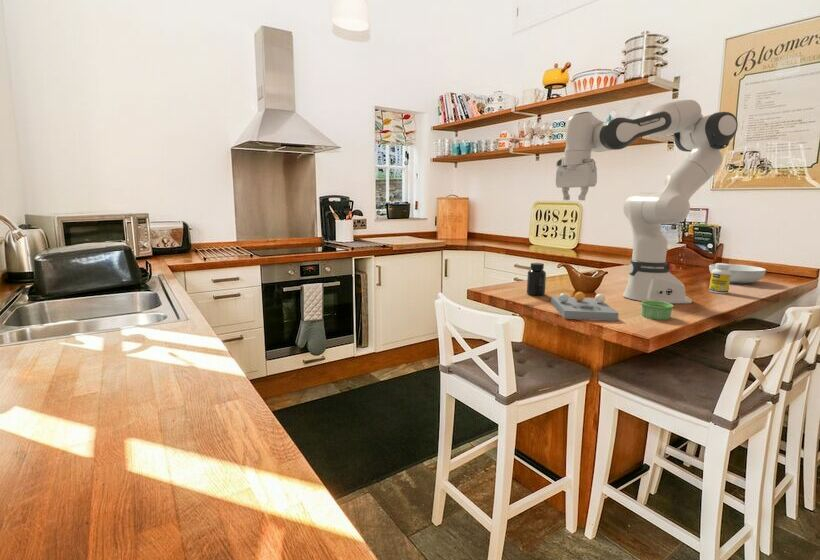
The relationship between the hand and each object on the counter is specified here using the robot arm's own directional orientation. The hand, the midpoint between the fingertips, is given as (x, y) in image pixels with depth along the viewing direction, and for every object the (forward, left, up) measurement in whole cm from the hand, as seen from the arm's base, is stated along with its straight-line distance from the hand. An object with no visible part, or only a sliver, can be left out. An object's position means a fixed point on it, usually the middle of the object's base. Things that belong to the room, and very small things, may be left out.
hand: (573, 200), depth 159 cm
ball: (-1, +15, -32) cm, 35 cm away
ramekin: (-23, +22, -36) cm, 48 cm away
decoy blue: (+5, +18, -32) cm, 37 cm away
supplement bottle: (+10, -5, -36) cm, 38 cm away
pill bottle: (-65, -21, -36) cm, 77 cm away
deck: (-1, +19, -36) cm, 41 cm away
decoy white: (-7, +17, -32) cm, 37 cm away
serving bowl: (-86, -47, -36) cm, 104 cm away
